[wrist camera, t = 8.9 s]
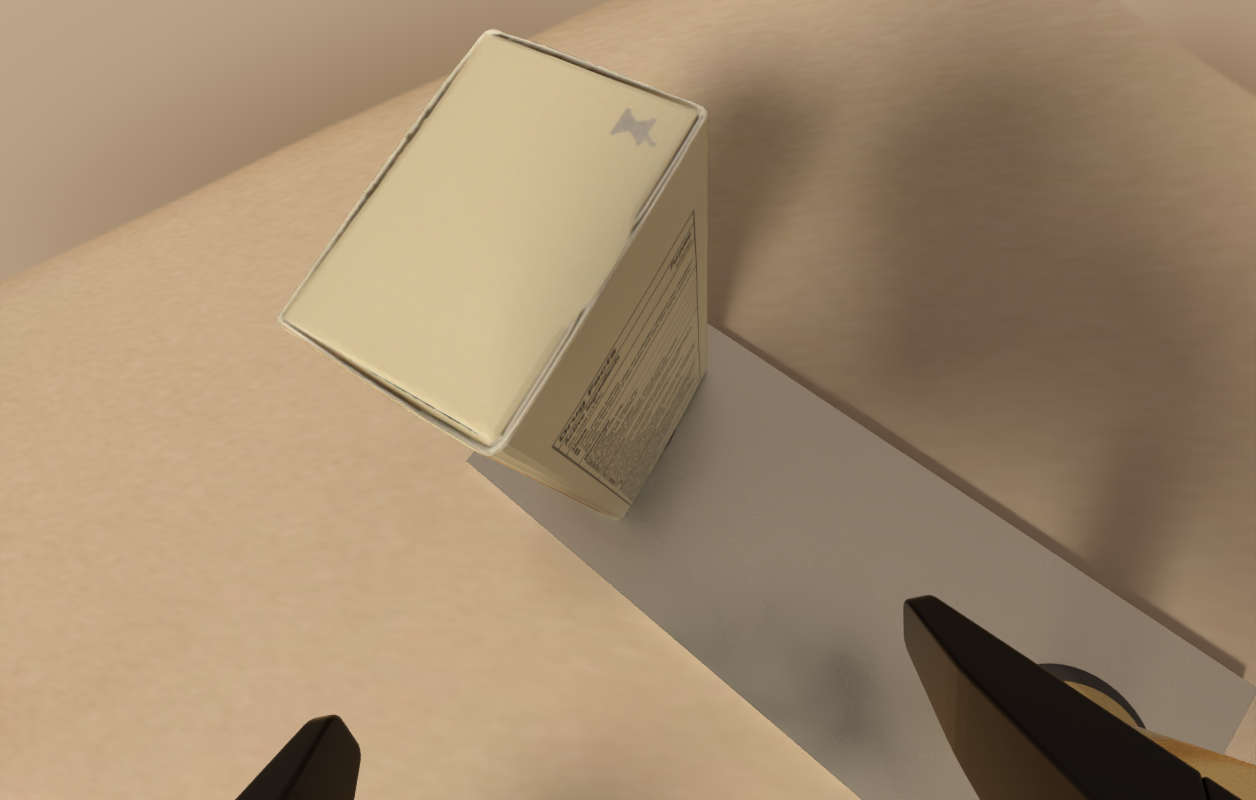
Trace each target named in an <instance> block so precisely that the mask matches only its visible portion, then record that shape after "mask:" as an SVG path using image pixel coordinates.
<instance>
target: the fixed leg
mask: <svg viewBox="0 0 1256 800" xmlns="http://www.w3.org/2000/svg"><path fill="white" fill-rule="evenodd" d="M1062 681H1064V682H1065V683H1067V684H1068V685H1070V686H1071V687H1073V688H1074V689H1076V690H1077V691H1079V692H1080V693H1082V694H1083V695H1085V696H1086V697H1088V698H1089V699H1091V700H1092V701H1094V702H1095V703H1097V704H1098V705H1100V706H1101V707H1103V708H1104V709H1106V710H1107V711H1109V712H1110V713H1112V714H1113V715H1115V716H1116V717H1118V718H1119V719H1121V720H1122V721H1124V722H1125V723H1127V724H1128V725H1130V726H1131V727H1133V728H1134V729H1136V730H1137V731H1139V732H1140V733H1142V734H1143V735H1145V736H1147V737H1148V738H1150V739H1151V740H1153V741H1154V742H1156V743H1157V744H1159V745H1160V746H1162V747H1163V748H1165V749H1166V750H1168V751H1169V752H1171V753H1172V754H1174V755H1175V756H1177V757H1178V758H1180V759H1181V760H1183V761H1184V762H1186V763H1187V764H1189V765H1190V766H1192V767H1193V768H1195V769H1196V770H1198V771H1199V772H1200V774H1201V776H1202V778H1203V777H1208V778H1210V779H1212V780H1213V781H1215V782H1216V783H1218V784H1219V785H1221V786H1222V787H1224V788H1225V789H1227V790H1228V791H1230V792H1231V793H1233V794H1234V795H1236V796H1237V797H1239V798H1240V799H1242V800H1256V765H1253V764H1250V763H1247V762H1244V761H1241V760H1238V759H1235V758H1232V757H1229V756H1226V755H1223V754H1220V753H1217V752H1214V751H1211V750H1208V749H1205V748H1201V747H1198V746H1195V745H1192V744H1189V743H1186V742H1183V741H1180V740H1177V739H1174V738H1171V737H1168V736H1165V735H1162V734H1159V733H1156V732H1153V731H1150V730H1147V729H1144V728H1141V727H1138V725H1137V724H1136V722H1135V721H1134V720H1133V719H1132V717H1131V716H1130V715H1129V714H1128V713H1127V712H1126V711H1125V710H1124V709H1123V708H1122V707H1121V706H1120V705H1119V704H1118V703H1116V702H1115V701H1114V700H1113V699H1111V698H1110V697H1108V696H1107V695H1105V694H1104V693H1102V692H1100V691H1098V690H1096V689H1094V688H1091V687H1088V686H1086V685H1083V684H1079V683H1075V682H1071V681H1067V680H1062Z"/></svg>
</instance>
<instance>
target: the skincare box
mask: <svg viewBox="0 0 1256 800" xmlns="http://www.w3.org/2000/svg"><path fill="white" fill-rule="evenodd" d="M708 123H709V119H708V112H707V110H706V108H705V107H703V106H701V105H699V104H697V103H694V102H692V101H689V100H687V99H684V98H680V97H677V96H674V95H671V94H668V93H666V92H664V91H662V90H660V89H658V88H656V87H653V86H650V85H647V84H644V83H642V82H639V81H637V80H634V79H632V78H630V77H627V76H625V75H622V74H619V73H617V72H614V71H611V70H608V69H605V68H603V67H600V66H598V65H595V64H593V63H590V62H588V61H585V60H583V59H580V58H577V57H575V56H572V55H569V54H566V53H564V52H561V51H558V50H555V49H553V48H550V47H547V46H544V45H541V44H538V43H536V42H532V41H529V40H524V39H521V38H518V37H515V36H512V35H509V34H507V33H504V32H502V31H499V30H495V29H490V30H487V31H486V32H485V33H484V34H483V35H481V36H480V37H479V39H478V40H477V42H476V43H475V44H474V46H473V47H472V48H471V50H470V51H469V52H468V53H467V54H466V55H465V57H464V58H463V59H462V60H461V62H460V63H459V65H458V66H457V67H456V68H455V69H454V71H453V72H452V74H451V75H450V76H449V77H448V78H447V80H446V81H445V82H444V83H443V84H442V86H441V88H440V89H439V90H438V92H437V93H436V94H435V95H434V97H433V98H432V99H431V100H430V102H429V103H428V105H427V106H426V108H425V109H423V110H422V112H421V114H420V115H419V117H418V118H417V120H416V121H415V122H414V124H413V125H412V126H411V128H410V129H409V130H408V131H407V133H406V134H405V136H404V137H403V139H402V140H401V142H400V143H399V145H398V146H397V147H396V149H395V150H394V151H393V152H392V154H391V155H390V156H389V158H388V159H387V160H386V162H385V163H384V165H383V166H382V168H381V169H380V171H379V172H378V173H377V175H376V176H375V178H374V179H373V180H372V182H371V183H370V184H369V186H368V187H367V189H366V190H365V192H364V193H363V194H362V196H361V197H360V199H359V200H358V202H357V203H356V204H355V206H354V207H353V209H352V210H351V211H350V212H349V214H348V216H347V217H346V219H345V220H344V221H343V223H342V224H341V225H340V227H339V228H338V230H337V231H336V232H335V234H334V235H333V237H332V238H331V240H330V241H329V243H328V244H327V246H326V247H325V249H324V250H323V252H322V253H321V255H320V256H319V258H318V259H317V260H316V262H315V263H314V264H313V266H312V267H311V269H310V270H309V272H308V274H307V275H306V277H305V278H304V280H303V281H302V283H301V284H300V286H299V287H298V288H297V290H296V291H295V293H294V294H293V296H292V297H291V298H290V300H289V301H288V303H287V304H286V305H285V307H284V308H283V310H282V311H281V312H280V314H279V316H278V319H277V320H278V323H279V324H280V326H281V327H282V328H283V329H284V330H286V331H287V332H289V333H291V334H292V335H294V336H295V337H297V338H298V339H300V340H301V341H303V342H304V343H306V344H307V345H309V346H310V347H312V348H313V349H315V350H316V351H317V352H319V353H320V354H322V355H323V356H325V357H326V358H328V359H329V360H331V361H332V362H333V363H335V364H336V365H338V366H339V367H341V368H342V369H344V370H345V371H347V372H348V373H350V374H351V375H353V376H354V377H356V378H357V379H359V380H360V381H362V382H364V383H365V384H367V385H368V386H370V387H371V388H373V389H374V390H376V391H377V392H379V393H381V394H382V395H384V396H385V397H387V398H388V399H390V400H392V401H393V402H395V403H396V404H398V405H399V406H401V407H403V408H404V409H406V410H407V411H409V412H411V413H412V414H414V415H416V416H417V417H419V418H421V419H422V420H424V421H426V422H427V423H429V424H431V425H432V426H434V427H436V428H437V429H439V430H441V431H442V432H444V433H446V434H447V435H449V436H451V437H452V438H454V439H456V440H457V441H459V442H460V443H462V444H464V445H465V446H467V447H469V448H470V449H472V450H474V451H475V452H477V453H479V454H481V455H483V456H485V457H488V458H490V459H492V460H494V461H496V462H498V463H500V464H502V465H505V466H507V467H509V468H511V469H513V470H515V471H517V472H519V473H521V474H523V475H525V476H527V477H529V478H531V479H533V480H535V481H537V482H539V483H541V484H543V485H545V486H548V487H550V488H552V489H554V490H556V491H558V492H560V493H562V494H564V495H566V496H568V497H570V498H572V499H574V500H576V501H578V502H580V503H582V504H584V505H586V506H588V507H590V508H592V509H594V510H595V511H597V512H599V513H602V514H604V515H606V516H608V517H610V518H612V519H615V520H620V519H622V518H623V517H624V516H625V514H626V513H627V511H628V510H629V508H630V506H631V505H632V503H633V502H634V500H635V498H636V497H637V495H638V493H639V492H640V490H641V488H642V487H643V485H644V483H645V481H646V480H647V478H648V476H649V475H650V473H651V471H652V470H653V468H654V466H655V464H656V463H657V461H658V459H659V457H660V456H661V454H662V452H663V450H664V448H665V447H666V445H667V443H668V441H669V439H670V438H671V436H672V434H673V432H674V430H675V429H676V427H677V425H678V423H679V421H680V420H681V418H682V416H683V414H684V412H685V410H686V408H687V407H688V405H689V403H690V401H691V399H692V397H693V395H694V393H695V391H696V389H697V387H698V385H699V383H700V381H701V379H702V378H703V376H704V374H705V372H706V369H707V350H708V349H707V313H708V279H707V277H708Z"/></svg>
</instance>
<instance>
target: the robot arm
mask: <svg viewBox="0 0 1256 800" xmlns="http://www.w3.org/2000/svg"><path fill="white" fill-rule="evenodd" d="M903 626H904V641H905V645H906V648H907V651H908V654H909V656H910V658H911V660H912V663H913V665H914V667H915V669H916V672H917V674H918V676H919V678H920V680H921V683H922V685H923V687H924V689H925V691H926V694H927V696H928V698H929V700H930V703H931V705H932V707H933V709H934V711H935V714H936V716H937V718H938V720H939V723H940V725H941V727H942V729H943V731H944V734H945V736H946V738H947V740H948V742H949V744H950V747H951V749H952V751H953V753H954V755H955V757H956V759H957V760H958V762H959V764H960V766H961V768H962V770H963V772H964V773H965V775H966V777H967V778H968V780H969V782H970V784H971V785H972V787H973V789H974V791H975V792H976V794H977V796H978V798H979V799H980V800H1242V799H1240V798H1239V797H1237V796H1236V795H1234V794H1233V793H1231V792H1230V791H1228V790H1227V789H1225V788H1224V787H1222V786H1221V785H1219V784H1218V783H1216V782H1215V781H1213V780H1212V779H1210V778H1208V777H1203V778H1202V776H1201V774H1200V772H1199V771H1198V770H1196V769H1195V768H1193V767H1192V766H1190V765H1189V764H1187V763H1186V762H1184V761H1183V760H1181V759H1180V758H1178V757H1177V756H1175V755H1174V754H1172V753H1171V752H1169V751H1168V750H1166V749H1165V748H1163V747H1162V746H1160V745H1159V744H1157V743H1156V742H1154V741H1153V740H1151V739H1150V738H1148V737H1147V736H1145V735H1143V734H1142V733H1140V732H1139V731H1137V730H1136V729H1134V728H1133V727H1131V726H1130V725H1128V724H1127V723H1125V722H1124V721H1122V720H1121V719H1119V718H1118V717H1116V716H1115V715H1113V714H1112V713H1110V712H1109V711H1107V710H1106V709H1104V708H1103V707H1101V706H1100V705H1098V704H1097V703H1095V702H1094V701H1092V700H1091V699H1089V698H1088V697H1086V696H1085V695H1083V694H1082V693H1080V692H1079V691H1077V690H1076V689H1074V688H1073V687H1071V686H1070V685H1068V684H1067V683H1065V682H1064V681H1062V680H1061V679H1059V678H1058V677H1056V676H1055V675H1053V674H1052V673H1050V672H1048V671H1047V670H1045V669H1044V668H1042V667H1041V666H1039V665H1038V664H1036V663H1035V662H1033V661H1032V660H1030V659H1029V658H1027V657H1026V656H1024V655H1023V654H1021V653H1020V652H1018V651H1017V650H1015V649H1014V648H1012V647H1011V646H1009V645H1008V644H1006V643H1005V642H1003V641H1002V640H1000V639H999V638H997V637H996V636H994V635H993V634H991V633H990V632H988V631H987V630H985V629H984V628H982V627H981V626H979V625H978V624H976V623H975V622H973V621H972V620H970V619H969V618H967V617H966V616H964V615H963V614H961V613H960V612H958V611H957V610H955V609H954V608H952V607H950V606H949V605H947V604H946V603H944V602H943V601H941V600H940V599H938V598H937V597H935V596H932V595H924V596H919V597H914V598H909V599H906V600H905V601H904V604H903ZM360 761H361V753H360V748H359V745H358V743H357V741H356V740H355V738H354V737H353V735H352V734H351V732H350V731H349V729H348V728H347V726H346V725H345V723H344V722H343V720H342V719H341V718H340V717H339V716H337V715H328V716H323V717H318V718H314V719H312V720H310V721H308V722H307V723H306V724H305V725H304V726H303V727H302V728H301V729H300V730H299V731H298V732H297V733H296V734H295V736H294V737H293V738H292V739H291V740H290V741H289V742H288V743H287V744H286V745H285V746H284V747H283V749H282V750H281V751H280V752H279V753H278V754H277V755H276V756H275V757H274V758H273V759H272V760H271V762H270V763H269V764H268V765H267V766H266V767H265V768H264V769H263V770H262V771H261V772H260V773H259V775H258V776H257V777H256V778H255V779H254V780H253V781H252V782H251V783H250V784H249V785H248V786H247V788H246V789H245V790H244V791H243V792H242V793H241V794H240V795H239V796H238V797H237V798H236V799H235V800H354V797H355V791H356V785H357V779H358V773H359V767H360Z"/></svg>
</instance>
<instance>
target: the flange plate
mask: <svg viewBox="0 0 1256 800" xmlns="http://www.w3.org/2000/svg"><path fill="white" fill-rule="evenodd" d="M707 349H708V350H707V369H706V372H705V374H704V376H703V378H702V379H701V381H700V383H699V385H698V387H697V389H696V391H695V393H694V395H693V397H692V399H691V401H690V403H689V405H688V407H687V408H686V410H685V412H684V414H683V416H682V418H681V420H680V421H679V423H678V425H677V427H676V429H675V430H674V432H673V434H672V436H671V438H670V439H669V441H668V443H667V445H666V447H665V448H664V450H663V452H662V454H661V456H660V457H659V459H658V461H657V463H656V464H655V466H654V468H653V470H652V471H651V473H650V475H649V476H648V478H647V480H646V481H645V483H644V485H643V487H642V488H641V490H640V492H639V493H638V495H637V497H636V498H635V500H634V502H633V503H632V505H631V506H630V508H629V510H628V511H627V513H626V514H625V516H624V517H623V518H622V519H620V520H615V519H612V518H610V517H608V516H606V515H604V514H602V513H599V512H597V511H595V510H594V509H592V508H590V507H588V506H586V505H584V504H582V503H580V502H578V501H576V500H574V499H572V498H570V497H568V496H566V495H564V494H562V493H560V492H558V491H556V490H554V489H552V488H550V487H548V486H545V485H543V484H541V483H539V482H537V481H535V480H533V479H531V478H529V477H527V476H525V475H523V474H521V473H519V472H517V471H515V470H513V469H511V468H509V467H507V466H505V465H502V464H500V463H498V462H496V461H494V460H492V459H490V458H488V457H485V456H483V455H481V454H479V453H477V452H475V451H474V453H473V454H472V455H471V456H470V457H469V459H468V460H467V462H468V463H470V464H471V465H472V466H473V467H474V468H475V469H477V470H478V471H479V472H480V473H481V474H482V475H484V476H485V477H486V478H487V479H488V480H489V481H491V482H492V483H493V484H494V485H495V486H496V487H498V488H499V489H500V490H501V491H502V492H503V493H505V494H506V495H507V496H508V497H509V498H510V499H512V500H513V501H514V502H515V503H516V504H517V505H519V506H520V507H521V508H522V509H523V510H524V511H526V512H527V513H528V514H529V515H530V516H531V517H533V518H534V519H535V520H536V521H537V522H538V523H540V524H541V525H542V526H543V527H544V528H545V529H547V530H548V531H549V532H550V533H551V534H552V535H554V536H555V537H556V538H557V539H558V540H559V541H561V542H562V543H563V544H564V545H565V546H566V547H568V548H569V549H570V550H571V551H572V552H573V553H575V554H576V555H577V556H578V557H579V558H580V559H582V560H583V561H584V562H585V563H586V564H587V565H589V566H590V567H591V568H592V569H593V570H594V571H596V572H597V573H598V574H599V575H600V576H601V577H603V578H604V579H605V580H606V581H607V582H608V583H610V584H611V585H612V586H613V587H614V588H615V589H617V590H618V591H619V592H620V593H621V594H622V595H624V596H625V597H626V598H627V599H628V600H629V601H631V602H632V603H633V604H634V605H635V606H636V607H638V608H639V609H640V610H641V611H642V612H643V613H645V614H646V615H647V616H648V617H649V618H650V619H652V620H653V621H654V622H655V623H656V624H658V625H659V626H660V627H661V628H662V629H663V630H665V631H666V632H667V633H668V634H669V635H670V636H672V637H673V638H674V639H675V640H676V641H677V642H679V643H680V644H681V645H682V646H683V647H684V648H686V649H687V650H688V651H689V652H690V653H691V654H693V655H694V656H695V657H696V658H697V659H698V660H700V661H701V662H702V663H703V664H704V665H705V666H707V667H708V668H709V669H710V670H711V671H712V672H714V673H715V674H716V675H717V676H718V677H719V678H721V679H722V680H723V681H724V682H725V683H726V684H728V685H729V686H730V687H731V688H732V689H733V690H735V691H736V692H737V693H738V694H739V695H740V696H742V697H743V698H744V699H745V700H746V701H747V702H749V703H750V704H751V705H752V706H753V707H754V708H756V709H757V710H758V711H759V712H760V713H761V714H763V715H764V716H765V717H766V718H767V719H768V720H770V721H771V722H772V723H773V724H774V725H775V726H777V727H778V728H779V729H780V730H781V731H782V732H784V733H785V734H786V735H787V736H788V737H789V738H791V739H792V740H793V741H794V742H795V743H796V744H798V745H799V746H800V747H801V748H802V749H803V750H805V751H806V752H807V753H808V754H809V755H810V756H812V757H813V758H814V759H815V760H816V761H817V762H819V763H820V764H821V765H822V766H823V767H824V768H826V769H827V770H828V771H829V772H830V773H831V774H833V775H834V776H835V777H836V778H837V779H838V780H840V781H841V782H842V783H843V784H844V785H845V786H847V787H848V788H849V789H850V790H851V791H852V792H854V793H855V794H856V795H857V796H858V797H859V798H861V799H862V800H980V799H979V798H978V796H977V794H976V792H975V791H974V789H973V787H972V785H971V784H970V782H969V780H968V778H967V777H966V775H965V773H964V772H963V770H962V768H961V766H960V764H959V762H958V760H957V759H956V757H955V755H954V753H953V751H952V749H951V747H950V744H949V742H948V740H947V738H946V736H945V734H944V731H943V729H942V727H941V725H940V723H939V720H938V718H937V716H936V714H935V711H934V709H933V707H932V705H931V703H930V700H929V698H928V696H927V694H926V691H925V689H924V687H923V685H922V683H921V680H920V678H919V676H918V674H917V672H916V669H915V667H914V665H913V663H912V660H911V658H910V656H909V654H908V651H907V648H906V645H905V641H904V626H903V604H904V601H905V600H906V599H909V598H914V597H919V596H924V595H932V596H935V597H937V598H938V599H940V600H941V601H943V602H944V603H946V604H947V605H949V606H950V607H952V608H954V609H955V610H957V611H958V612H960V613H961V614H963V615H964V616H966V617H967V618H969V619H970V620H972V621H973V622H975V623H976V624H978V625H979V626H981V627H982V628H984V629H985V630H987V631H988V632H990V633H991V634H993V635H994V636H996V637H997V638H999V639H1000V640H1002V641H1003V642H1005V643H1006V644H1008V645H1009V646H1011V647H1012V648H1014V649H1015V650H1017V651H1018V652H1020V653H1021V654H1023V655H1024V656H1026V657H1027V658H1029V659H1030V660H1032V661H1033V662H1035V663H1036V664H1038V665H1039V666H1041V667H1042V668H1044V669H1045V670H1047V671H1048V672H1050V673H1052V674H1053V675H1055V676H1056V677H1058V678H1059V679H1061V680H1067V681H1071V682H1075V683H1079V684H1083V685H1086V686H1088V687H1091V688H1094V689H1096V690H1098V691H1100V692H1102V693H1104V694H1105V695H1107V696H1108V697H1110V698H1111V699H1113V700H1114V701H1115V702H1116V703H1118V704H1119V705H1120V706H1121V707H1122V708H1123V709H1124V710H1125V711H1126V712H1127V713H1128V714H1129V715H1130V716H1131V717H1132V719H1133V720H1134V721H1135V722H1136V724H1137V725H1138V727H1141V728H1144V729H1147V730H1150V731H1153V732H1156V733H1159V734H1162V735H1165V736H1168V737H1171V738H1174V739H1177V740H1180V741H1183V742H1186V743H1189V744H1192V745H1195V746H1198V747H1201V748H1205V749H1208V750H1211V751H1214V752H1217V753H1220V754H1224V753H1225V751H1226V749H1227V747H1228V745H1229V743H1230V741H1231V739H1232V738H1233V736H1234V734H1235V732H1236V730H1237V728H1238V726H1239V724H1240V723H1241V721H1242V719H1243V717H1244V715H1245V713H1246V711H1247V710H1248V708H1249V706H1250V704H1251V702H1252V700H1253V698H1254V696H1255V695H1256V687H1255V686H1253V685H1251V684H1250V683H1248V682H1247V681H1245V680H1244V679H1242V678H1241V677H1239V676H1238V675H1236V674H1235V673H1233V672H1232V671H1230V670H1229V669H1227V668H1226V667H1224V666H1223V665H1221V664H1220V663H1218V662H1217V661H1215V660H1214V659H1212V658H1211V657H1209V656H1208V655H1206V654H1205V653H1203V652H1202V651H1200V650H1199V649H1197V648H1196V647H1194V646H1193V645H1191V644H1190V643H1188V642H1187V641H1185V640H1184V639H1182V638H1181V637H1179V636H1178V635H1176V634H1175V633H1173V632H1172V631H1170V630H1169V629H1167V628H1166V627H1164V626H1163V625H1161V624H1160V623H1158V622H1157V621H1155V620H1154V619H1152V618H1151V617H1149V616H1148V615H1146V614H1145V613H1143V612H1142V611H1140V610H1139V609H1137V608H1136V607H1134V606H1133V605H1131V604H1130V603H1128V602H1127V601H1125V600H1124V599H1122V598H1121V597H1119V596H1118V595H1116V594H1115V593H1113V592H1112V591H1110V590H1109V589H1107V588H1106V587H1104V586H1103V585H1101V584H1100V583H1098V582H1097V581H1095V580H1093V579H1092V578H1090V577H1089V576H1087V575H1086V574H1084V573H1083V572H1081V571H1080V570H1078V569H1077V568H1075V567H1074V566H1072V565H1071V564H1069V563H1068V562H1066V561H1065V560H1063V559H1062V558H1060V557H1059V556H1057V555H1056V554H1054V553H1053V552H1051V551H1050V550H1048V549H1047V548H1045V547H1044V546H1042V545H1041V544H1039V543H1038V542H1036V541H1035V540H1033V539H1032V538H1030V537H1029V536H1027V535H1026V534H1024V533H1023V532H1021V531H1020V530H1018V529H1017V528H1015V527H1014V526H1012V525H1011V524H1009V523H1008V522H1006V521H1005V520H1003V519H1002V518H1000V517H999V516H997V515H996V514H994V513H993V512H991V511H990V510H988V509H987V508H985V507H984V506H982V505H981V504H979V503H978V502H976V501H975V500H973V499H972V498H970V497H969V496H967V495H966V494H964V493H963V492H961V491H960V490H958V489H957V488H955V487H954V486H952V485H951V484H949V483H948V482H946V481H945V480H943V479H942V478H940V477H939V476H937V475H935V474H934V473H932V472H931V471H929V470H928V469H926V468H925V467H923V466H922V465H920V464H919V463H917V462H916V461H914V460H913V459H911V458H910V457H908V456H907V455H905V454H904V453H902V452H901V451H899V450H898V449H896V448H895V447H893V446H892V445H890V444H889V443H887V442H886V441H884V440H883V439H881V438H880V437H878V436H877V435H875V434H874V433H872V432H871V431H869V430H868V429H866V428H865V427H863V426H862V425H860V424H859V423H857V422H856V421H854V420H853V419H851V418H850V417H848V416H847V415H845V414H844V413H842V412H841V411H839V410H838V409H836V408H835V407H833V406H832V405H830V404H829V403H827V402H826V401H824V400H823V399H821V398H820V397H818V396H817V395H815V394H814V393H812V392H811V391H809V390H808V389H806V388H805V387H803V386H802V385H800V384H799V383H797V382H796V381H794V380H793V379H791V378H790V377H788V376H787V375H785V374H784V373H782V372H781V371H779V370H777V369H776V368H774V367H773V366H771V365H770V364H768V363H767V362H765V361H764V360H762V359H761V358H759V357H758V356H756V355H755V354H753V353H752V352H750V351H749V350H747V349H746V348H744V347H743V346H741V345H740V344H738V343H737V342H735V341H734V340H732V339H731V338H729V337H728V336H726V335H725V334H723V333H722V332H720V331H719V330H717V329H716V328H714V327H713V326H711V325H710V324H708V323H707Z"/></svg>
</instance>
